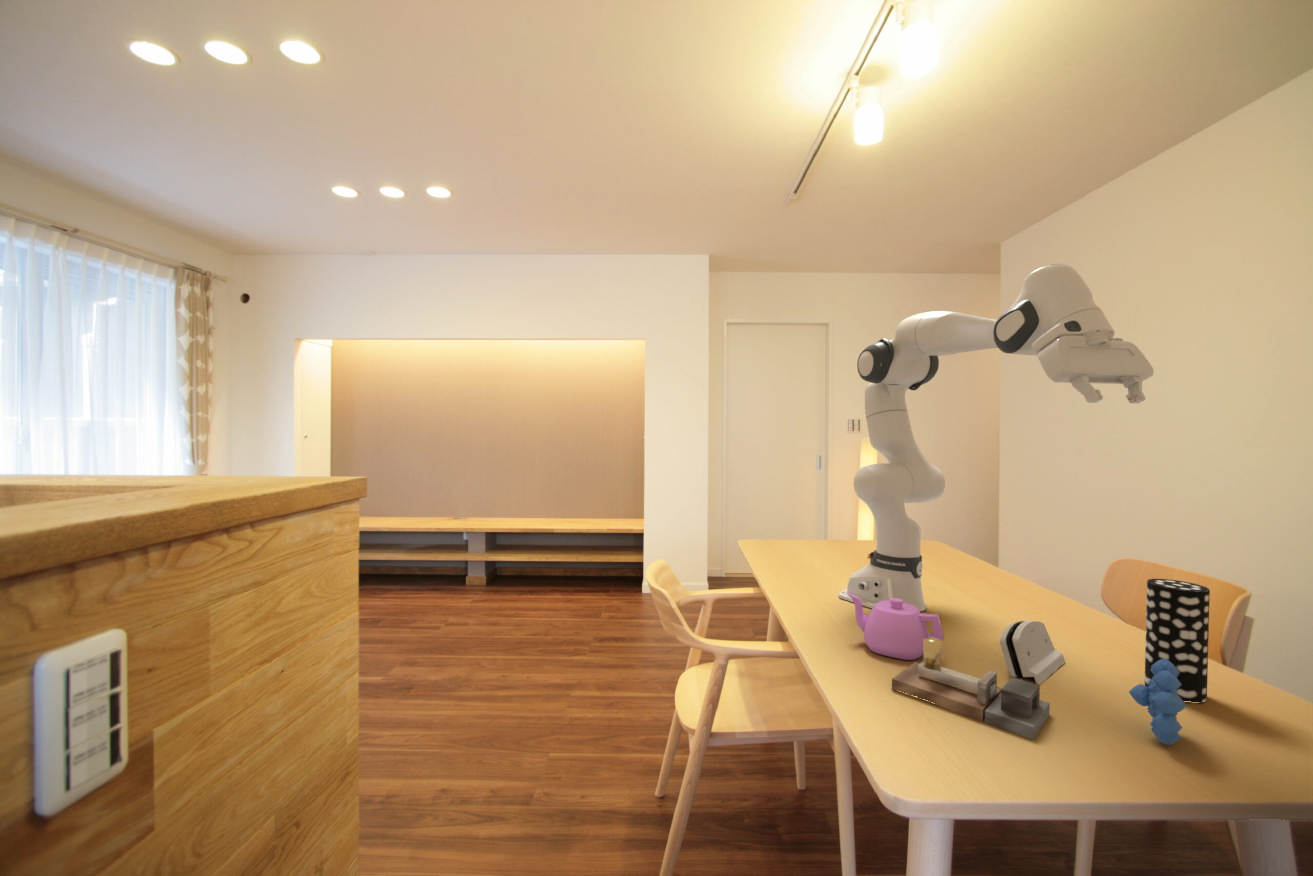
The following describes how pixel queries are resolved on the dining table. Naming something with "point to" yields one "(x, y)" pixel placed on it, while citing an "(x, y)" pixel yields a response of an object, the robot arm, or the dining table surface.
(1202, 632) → the white-spotted black cylinder
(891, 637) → the teapot
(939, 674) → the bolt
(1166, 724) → the grapes
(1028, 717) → the door board
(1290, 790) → the dining table surface
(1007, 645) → the light grey rounded piece
